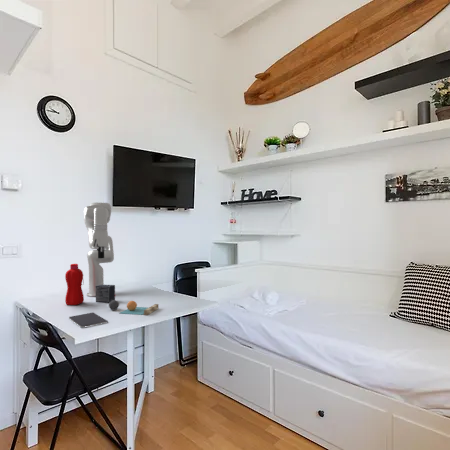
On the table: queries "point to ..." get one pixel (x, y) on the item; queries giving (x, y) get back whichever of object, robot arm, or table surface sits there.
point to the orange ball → (131, 305)
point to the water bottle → (74, 285)
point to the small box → (105, 293)
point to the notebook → (87, 319)
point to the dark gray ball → (113, 304)
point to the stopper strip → (151, 309)
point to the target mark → (135, 311)
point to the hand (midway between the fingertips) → (101, 258)
